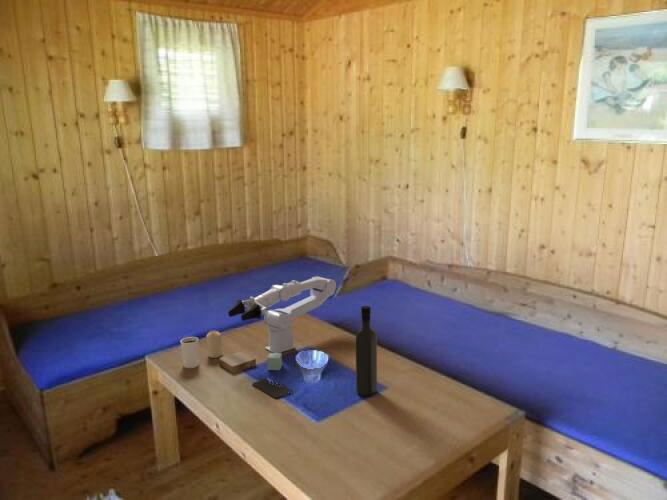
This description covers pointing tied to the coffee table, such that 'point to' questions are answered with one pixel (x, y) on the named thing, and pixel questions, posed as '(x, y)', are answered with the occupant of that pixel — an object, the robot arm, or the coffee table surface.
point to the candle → (214, 344)
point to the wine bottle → (366, 356)
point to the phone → (271, 388)
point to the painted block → (274, 361)
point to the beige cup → (190, 352)
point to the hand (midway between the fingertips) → (235, 316)
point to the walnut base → (237, 361)
